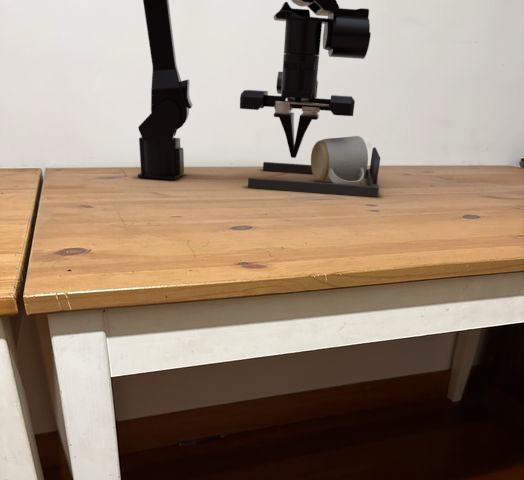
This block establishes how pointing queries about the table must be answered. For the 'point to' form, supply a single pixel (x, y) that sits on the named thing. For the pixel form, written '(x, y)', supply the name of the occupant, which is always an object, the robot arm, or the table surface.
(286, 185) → the dish rack
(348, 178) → the ceramic mug
